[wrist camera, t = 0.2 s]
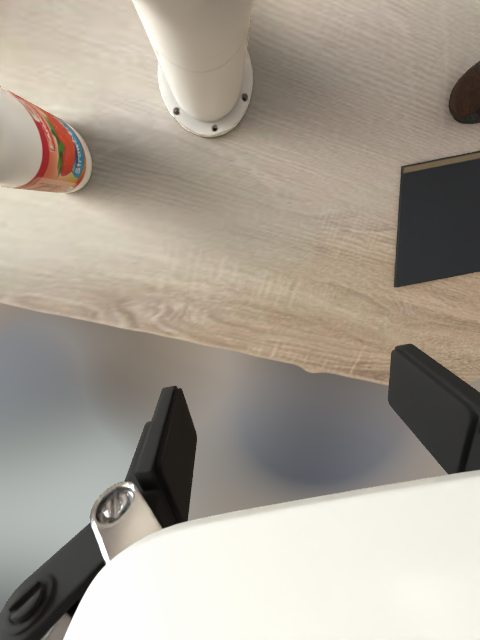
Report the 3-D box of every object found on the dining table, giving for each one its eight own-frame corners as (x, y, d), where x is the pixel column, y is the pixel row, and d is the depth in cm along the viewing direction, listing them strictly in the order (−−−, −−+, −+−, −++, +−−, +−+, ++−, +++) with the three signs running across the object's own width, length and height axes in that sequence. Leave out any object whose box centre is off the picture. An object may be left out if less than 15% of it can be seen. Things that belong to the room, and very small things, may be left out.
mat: (401, 166, 41) (404, 166, 40) (514, 144, 41) (519, 143, 40) (393, 286, 49) (396, 287, 48) (488, 268, 49) (492, 269, 48)
